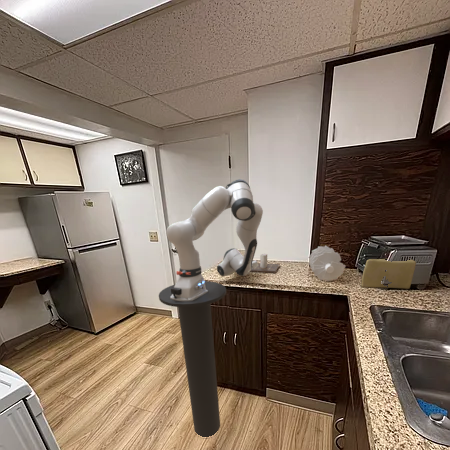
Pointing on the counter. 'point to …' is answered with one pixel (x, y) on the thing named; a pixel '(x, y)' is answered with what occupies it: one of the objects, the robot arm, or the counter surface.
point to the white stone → (263, 260)
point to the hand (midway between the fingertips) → (250, 260)
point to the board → (269, 269)
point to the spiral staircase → (326, 263)
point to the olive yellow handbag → (388, 273)
